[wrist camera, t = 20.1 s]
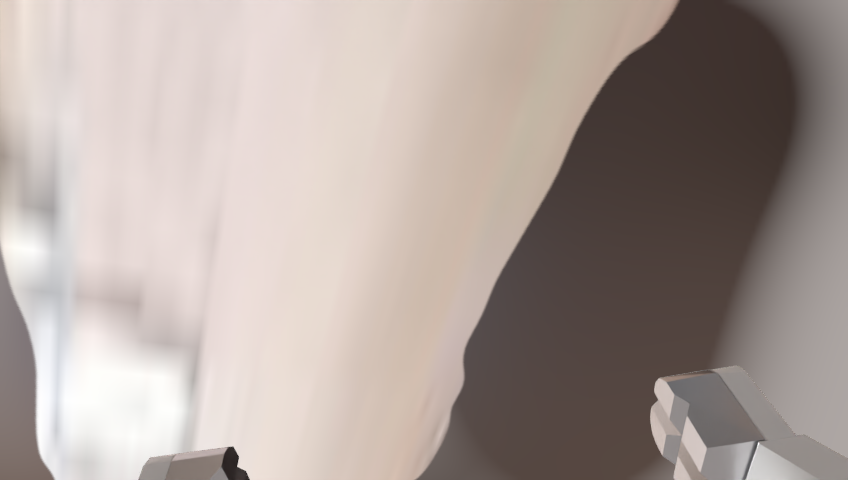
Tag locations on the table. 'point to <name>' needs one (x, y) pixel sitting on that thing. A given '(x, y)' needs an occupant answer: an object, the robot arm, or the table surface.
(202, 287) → the table surface
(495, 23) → the table surface
